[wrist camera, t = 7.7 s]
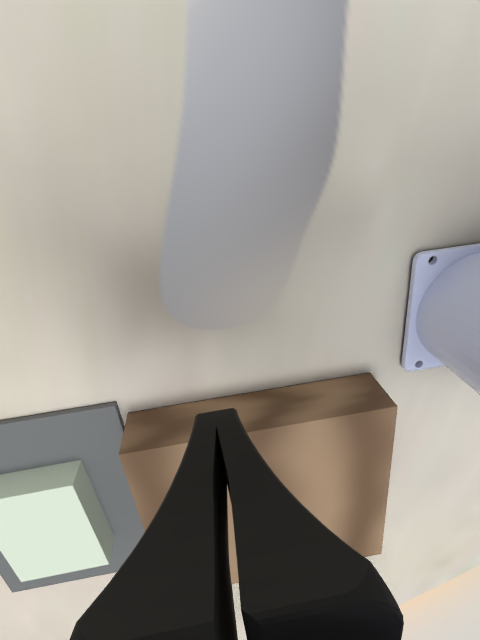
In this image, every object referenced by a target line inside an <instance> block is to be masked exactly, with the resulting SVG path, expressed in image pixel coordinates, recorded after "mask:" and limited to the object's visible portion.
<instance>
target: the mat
mask: <svg viewBox="0 0 480 640" xmlns="http://www.w3.org/2000/svg"><path fill="white" fill-rule="evenodd" d="M124 429H125V428H124V425H123V422H122V419H121V415H120V412H119V409H118V406H117V403H116V402H112V403H106V404H100V405H93V406H87V407H81V408H75V409H69V410H63V411H57V412H51V413H44V414H38V415H32V416H26V417H20V418H14V419H8V420H2V421H0V475H1V474H6V473H12V472H17V471H23V470H28V469H34V468H39V467H45V466H50V465H55V464H61V463H66V462H72V461H77V460H82V463H83V465H84V467H85V470H86V472H87V474H88V477H89V479H90V481H91V484H92V486H93V488H94V490H95V493H96V495H97V497H98V500H99V502H100V504H101V507H102V509H103V511H104V514H105V516H106V518H107V521H108V523H109V525H110V528H111V530H112V532H113V535H114V541H113V547H112V552H111V557H110V562H109V564H108V565H103V566H98V567H93V568H88V569H83V570H78V571H74V572H69V573H64V574H59V575H54V576H49V577H44V578H39V579H34V580H29V581H24V582H21V581H20V579H19V578H18V576H17V575H16V573H15V572H14V570H13V569H12V567H11V566H10V564H9V563H8V561H7V560H6V558H5V557H4V555H3V554H2V553H1V551H0V575H1V576H2V578H3V579H4V581H5V582H6V584H7V585H8V587H9V588H10V590H11V591H12V592H17V591H23V590H28V589H33V588H38V587H43V586H48V585H53V584H58V583H63V582H68V581H73V580H79V579H84V578H89V577H94V576H99V575H104V574H109V573H114V572H118V570H119V569H120V567H121V566H122V565H123V563H124V562H125V560H126V559H127V558H128V556H129V555H130V554H131V552H132V551H133V549H134V548H135V546H136V545H137V543H138V542H139V540H140V539H141V537H142V536H143V534H144V533H145V530H144V527H143V525H142V522H141V519H140V516H139V513H138V510H137V507H136V504H135V501H134V498H133V496H132V493H131V490H130V487H129V484H128V481H127V478H126V475H125V472H124V470H123V467H122V464H121V461H120V458H119V450H120V446H121V442H122V437H123V433H124Z"/></svg>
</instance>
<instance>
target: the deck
mask: <svg viewBox="0 0 480 640" xmlns="http://www.w3.org/2000/svg"><path fill="white" fill-rule="evenodd" d="M229 408H234V409H236V410H237V413H238V416H239V418H240V421H241V423H242V425H243V427H244V429H245V431H246V433H247V434H248V436H249V438H250V439H251V441H252V443H253V444H254V446H255V447H256V449H257V450H258V452H259V453H260V455H261V456H262V458H263V459H264V460H265V462H266V463H267V464H268V466H269V467H270V468H271V470H272V471H273V472H274V474H275V475H276V476H277V477H278V478H279V480H280V481H281V482H282V483H283V484H284V485H285V487H286V488H287V489H288V490H289V491H290V492H291V493H292V494H293V495H294V496H295V497H296V499H297V500H298V501H299V502H300V503H301V504H302V505H303V506H304V507H305V508H306V509H308V510H309V511H310V512H311V513H312V514H313V515H314V516H315V517H316V518H317V519H318V520H319V521H320V522H321V523H322V524H324V525H325V526H326V527H327V528H328V529H329V530H331V531H332V532H333V533H334V534H335V535H337V536H338V537H339V538H340V539H341V540H343V541H344V542H345V543H346V544H348V545H349V546H350V547H352V548H353V549H354V550H355V551H357V552H358V553H359V554H361V555H362V556H364V557H367V556H372V555H377V554H381V550H382V541H383V532H384V523H385V514H386V505H387V496H388V487H389V478H390V469H391V460H392V451H393V442H394V433H395V424H396V415H397V405H396V404H395V403H394V402H393V400H392V399H391V398H390V397H389V395H388V394H387V393H386V392H385V391H384V389H383V388H382V387H381V386H380V384H379V383H378V382H377V381H376V379H375V378H374V377H373V376H372V375H371V373H366V374H360V375H354V376H348V377H342V378H336V379H330V380H324V381H318V382H312V383H306V384H300V385H294V386H288V387H282V388H276V389H270V390H264V391H258V392H252V393H246V394H239V395H233V396H227V397H221V398H215V399H209V400H203V401H197V402H191V403H185V404H179V405H173V406H167V407H161V408H155V409H149V410H143V411H137V412H131V413H128V416H127V420H126V424H125V429H124V433H123V437H122V442H121V446H120V450H119V458H120V461H121V464H122V467H123V470H124V472H125V475H126V478H127V481H128V484H129V487H130V490H131V493H132V496H133V498H134V501H135V504H136V507H137V510H138V513H139V516H140V519H141V522H142V525H143V527H144V530H145V531H146V529H147V528H148V526H149V524H150V523H151V521H152V519H153V518H154V516H155V514H156V513H157V511H158V509H159V507H160V505H161V504H162V502H163V500H164V498H165V496H166V494H167V492H168V490H169V488H170V486H171V484H172V481H173V479H174V477H175V475H176V473H177V470H178V468H179V466H180V463H181V461H182V458H183V456H184V453H185V450H186V448H187V445H188V442H189V439H190V436H191V432H192V429H193V425H194V420H195V416H196V415H197V414H200V413H206V412H211V411H217V410H223V409H229ZM227 502H228V542H229V564H230V574H231V583H232V584H234V583H239V578H238V567H237V556H236V545H235V534H234V524H233V514H232V504H231V500H230V495H229V491H228V486H227Z"/></svg>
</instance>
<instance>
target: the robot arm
mask: <svg viewBox="0 0 480 640" xmlns="http://www.w3.org/2000/svg"><path fill="white" fill-rule="evenodd" d="M432 256H433V260H432V261H431V262H428V261H429V259H430V257H432ZM417 361H419V362H418V363H417V364H416V362H417ZM401 364H402V367H403V368H404V369H405V370H406V371H416V370H422V369H428V368H434V367H440V366H446V367H448V368H449V369H450V370H451V371H452V372H453V373H455V374H456V375H457V376H458V377H459V378H461V379H462V380H463V381H464V382H465V383H467V384H468V385H469V386H470V387H471V388H472V389H474V390H475V391H476V392H477V393H478V394H480V243H478V244H471V245H464V246H457V247H450V248H443V249H436V250H429V251H422V252H419V253H417V254H416V255H415V257H414V258H413V263H412V272H411V281H410V290H409V299H408V308H407V318H406V327H405V336H404V345H403V354H402V363H401ZM227 486H228V491H229V495H230V500H231V504H232V514H233V524H234V534H235V545H236V556H237V567H238V578H239V590H240V602H241V611H242V616H243V621H244V626H245V631H246V636H247V640H401V637H402V631H403V625H404V623H403V615H402V613H401V611H400V608H399V606H398V604H397V602H396V600H395V599H394V597H393V595H392V593H391V592H390V590H389V588H388V587H387V585H386V584H385V582H384V581H383V579H382V577H381V576H380V575H379V573H378V572H377V570H376V569H375V567H374V566H373V565H372V563H371V562H370V561H369V560H368V559H366V558H365V557H364V556H362V555H361V554H359V553H358V552H357V551H355V550H354V549H353V548H352V547H350V546H349V545H348V544H346V543H345V542H344V541H343V540H341V539H340V538H339V537H338V536H337V535H335V534H334V533H333V532H332V531H331V530H329V529H328V528H327V527H326V526H325V525H324V524H322V523H321V522H320V521H319V520H318V519H317V518H316V517H315V516H314V515H313V514H312V513H311V512H310V511H309V510H308V509H306V508H305V507H304V506H303V505H302V504H301V503H300V502H299V501H298V500H297V499H296V497H295V496H294V495H293V494H292V493H291V492H290V491H289V490H288V489H287V488H286V487H285V485H284V484H283V483H282V482H281V481H280V480H279V478H278V477H277V476H276V475H275V474H274V472H273V471H272V470H271V468H270V467H269V466H268V464H267V463H266V462H265V460H264V459H263V458H262V456H261V455H260V453H259V452H258V450H257V449H256V447H255V446H254V444H253V443H252V441H251V439H250V438H249V436H248V434H247V433H246V431H245V429H244V427H243V425H242V423H241V421H240V418H239V416H238V413H237V410H236V409H234V408H229V409H223V410H217V411H211V412H206V413H200V414H197V415H196V416H195V420H194V425H193V429H192V432H191V436H190V439H189V442H188V445H187V448H186V450H185V453H184V456H183V458H182V461H181V463H180V466H179V468H178V470H177V473H176V475H175V477H174V479H173V481H172V484H171V486H170V488H169V490H168V492H167V494H166V496H165V498H164V500H163V502H162V504H161V505H160V507H159V509H158V511H157V513H156V514H155V516H154V518H153V519H152V521H151V523H150V524H149V526H148V528H147V529H146V531H145V533H144V534H143V536H142V537H141V539H140V540H139V542H138V543H137V545H136V546H135V548H134V549H133V551H132V552H131V554H130V555H129V556H128V558H127V559H126V560H125V562H124V563H123V565H122V566H121V567H120V569H119V570H118V572H117V573H116V574H115V576H114V577H113V578H112V580H111V581H110V582H109V584H108V585H107V586H106V587H105V589H104V590H103V591H102V592H101V593H100V595H99V596H98V597H97V598H96V599H95V601H94V602H93V603H92V604H91V605H90V607H89V608H88V609H87V610H86V612H85V613H84V614H83V615H82V616H81V618H80V619H79V620H78V621H77V622H76V625H75V627H74V630H73V632H72V635H71V638H70V640H238V638H237V629H236V620H235V611H234V602H233V593H232V583H231V574H230V564H229V542H228V502H227Z"/></svg>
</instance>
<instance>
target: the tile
mask: <svg viewBox="0 0 480 640" xmlns="http://www.w3.org/2000/svg"><path fill="white" fill-rule="evenodd" d="M113 541H114V535H113V532H112V530H111V528H110V525H109V523H108V521H107V518H106V516H105V514H104V511H103V509H102V507H101V504H100V502H99V500H98V497H97V495H96V493H95V490H94V488H93V486H92V484H91V481H90V479H89V477H88V474H87V472H86V470H85V467H84V465H83V463H82V460H77V461H72V462H66V463H61V464H55V465H50V466H45V467H39V468H34V469H28V470H23V471H17V472H12V473H6V474H1V475H0V551H1V553H2V554H3V555H4V557H5V558H6V560H7V561H8V563H9V564H10V566H11V567H12V569H13V570H14V572H15V573H16V575H17V576H18V578H19V579H20V581H21V582H24V581H29V580H34V579H39V578H44V577H49V576H54V575H59V574H64V573H69V572H74V571H78V570H83V569H88V568H93V567H98V566H103V565H108V564H109V562H110V557H111V552H112V547H113Z"/></svg>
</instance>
